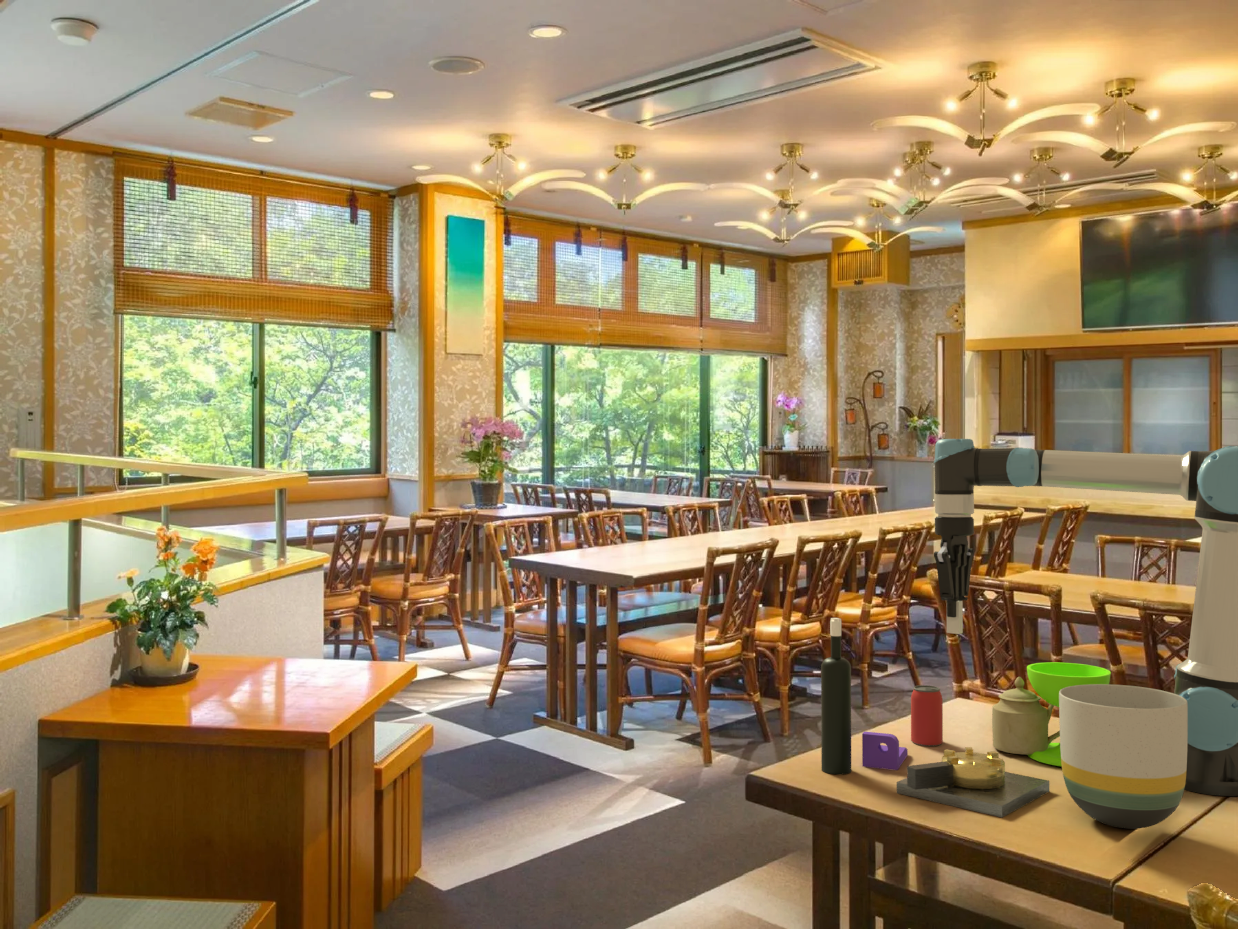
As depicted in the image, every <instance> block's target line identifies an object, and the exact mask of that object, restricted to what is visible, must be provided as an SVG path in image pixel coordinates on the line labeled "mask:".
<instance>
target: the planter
mask: <svg viewBox="0 0 1238 929" xmlns="http://www.w3.org/2000/svg"><path fill="white" fill-rule="evenodd" d="M1058 710H1059V711H1058V714H1059V716H1058V718H1059V720H1058V722H1059V730H1060V736H1059V743H1060V749H1061V765H1062V766H1061V771H1062V772H1061V773H1062V776H1063V781H1064V783H1065V787H1066V790H1067V792H1068V794H1069V796H1070V797H1071V799H1072V800H1073V802H1074V804H1076V805H1077V807H1079V809H1080V810H1082V811H1083V812H1084V813H1085V814H1087V815H1088V816H1089V817H1090V818H1092V819H1094V820H1095V821H1097V822H1100V823H1102V824H1105V825H1107V826H1111V827H1114V828H1119V829H1120V828H1121V829H1126V830H1127V829H1129V830H1136V829H1144V828H1145V829H1146V828H1149V827H1153V826H1156V825H1158V824H1160V823H1162V822H1163V821H1165V820H1166V819H1167V818H1169V817H1170V816H1171V815H1172V814H1173V813H1174V812H1175V811H1176V810H1177V808H1178V807H1179V805H1180V803H1181V801H1182V798H1183V795H1184V792H1185V790H1184V788H1185V782H1186V770H1187V739H1188V705H1187V700H1186V699H1185V698H1183V697H1181V696H1179V695H1176V694H1174V692H1170V691H1166V690H1165V691H1164V690H1161V689H1156V688H1150V687H1142V686H1135V685H1123V684H1110V683H1109V684H1088V685H1076V686H1070V687H1066V688H1063V689H1061V690H1060V691H1059V707H1058Z"/></svg>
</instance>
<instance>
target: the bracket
mask: <svg viewBox="0 0 1238 929" xmlns="http://www.w3.org/2000/svg"><path fill="white" fill-rule="evenodd" d="M861 734H862V735H861V738H862V739H861V741H862V742H861V745H862V746H861V748H862V750H861V751H862V752H861V753H862V754H861V755H862V756H861V757H862V763H861V764H862V767H864V768H865V767H866V768H873V769H874V768H875V769H882V770H884V769H885V770H889V771H890V770H893V771H898V770H899V769H900V767H901V765H902V764H903V763H904V761H905V760H906V758H908V754H909V753H908V752H909V751H908V748H907V747H903V746H900V741H899V740H900V739H898V737H897V736H896V735H894V734H891V733H884V732H873V731H863V732H862V733H861Z"/></svg>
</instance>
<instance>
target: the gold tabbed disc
mask: <svg viewBox="0 0 1238 929" xmlns="http://www.w3.org/2000/svg"><path fill="white" fill-rule="evenodd" d="M999 754H1000V753H999V752H997V751H994V750H993V751H987V752H986V753H982V752H981V753H980V752H974V749H973V747H971V746H970V747H969V746H966V747H965V746H964V751H959V752H958V751H957V752H956V750H952V749H947V748H946V749H944V750H943V755H942V756H941V761H938V762H929V763H923V764H922V763H921V764H912V765H907V766H906V768H907V769H906V772H907V773H906V774H907V775H906V776H907V777H906V778H907V786H909V787H911V788H913V789H915V790H917V789H925V788H932V787H940V786H947V785H956V786H960V787H966V788H975V789H990V788H997V787H1001V786H1003V785H1004V784H1005V772H1006V768H1005V767H1006V762H1005V761H1004V759H1003V758H1000V756H999Z"/></svg>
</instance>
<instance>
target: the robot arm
mask: <svg viewBox="0 0 1238 929" xmlns="http://www.w3.org/2000/svg"><path fill="white" fill-rule="evenodd" d="M934 448H935V449H934V460H933V464H934V498H933V503H934V513H935V514H937V516H935V517H934V534H935V535H937V536H941V539H940V544H939V546H940V549H939V551H934V552H933V558H934V560H935V563H936V571H937V578H938V579H937V580H938V588H939V596H940V600H941V601H946V633H947V634H953V635H954V634H956V635H960V634H963V630H964V628H963V627H964V626H963V621H964V620H963V618H964V617H963V603H964V602H963V601H968V599H969V597H968V596H969V593H970V592H969V591H970V581H971V574H972V573H971V572H972V571H971V570H972V563H973V557H974V555H975V549H974V548H969V542H968V537H969V536H972V535H974V534H975V519H974V518H973V516H972V515H974V513H975V495H974V493H975V492H974V488H975V487H985V486H986V487H1015V488H1020V487H1021V488H1022V487H1047V488H1063V489H1077V490H1079V489H1081V490H1093V491H1094V490H1095V491H1110V492H1125V493H1127V492H1128V493H1141V494H1142V493H1143V494H1146V493H1147V494H1158V495H1159V494H1160V495H1176V496H1182V498H1183V499H1184V500H1185V501H1189V502H1190V501H1191V502H1195V510H1194V519H1195V521H1196V522H1197V523H1198V525H1200V526H1201V528H1202V531H1201V533H1202V534H1201V539H1200V540H1201V541H1200V550H1199V558H1198V567H1197V573H1196V574H1197V575H1196V582H1195V591H1194V592H1195V593H1194V600H1193V601H1194V602H1193V608H1192V609H1193V610H1192V618H1191V627H1190V634H1189V635H1190V636H1189V646H1188V653H1187V658H1186V659H1185V660H1184V661H1182V662H1181V663H1179V664H1177V665H1176V666H1175V674H1174V675H1173V678H1174V680H1175V684H1174V689H1173V690H1174V692H1173V694H1176V695H1179V696H1181V697H1183V698H1185V699H1186V700H1187V705H1188V739H1187V770H1186V782H1185V788H1184V791H1189V792H1193V793H1197V794H1202V795H1210V796H1218V797H1219V796H1220V797H1238V445H1228V446H1224V447H1222V448H1218V449H1216V450H1204V451H1203V450H1202V451H1201V450H1188V451H1187V452H1186V453H1184V454H1183V455H1177V454H1176V455H1173V454H1172V455H1170V454H1152V453H1151V454H1150V453H1149V454H1147V453H1146V454H1145V453H1127V452H1125V453H1124V452H1122V453H1121V452H1103V451H1102V452H1101V451H1100V452H1098V451H1078V450H1073V451H1072V450H1058V449H1057V450H1056V449H1055V450H1054V449H1053V450H1052V449H1034V448H1032V447H1030V448H1028V447H1027V448H1026V447H998V448H982V447H981V448H978V447H976V446H975V445H974V440H973V439H971V438H945V439H944V438H942V439H938V440H937V441H936V443H935V447H934Z"/></svg>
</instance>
